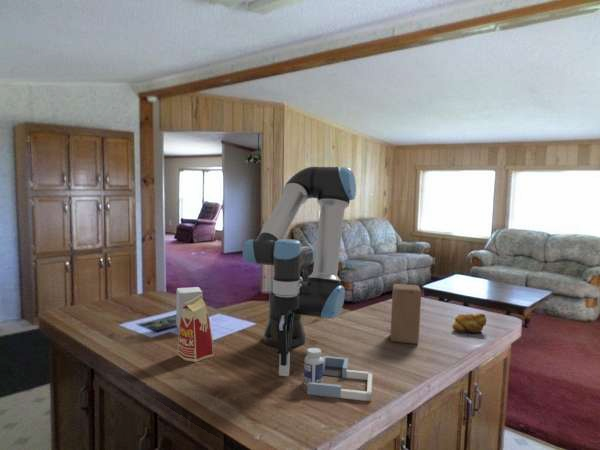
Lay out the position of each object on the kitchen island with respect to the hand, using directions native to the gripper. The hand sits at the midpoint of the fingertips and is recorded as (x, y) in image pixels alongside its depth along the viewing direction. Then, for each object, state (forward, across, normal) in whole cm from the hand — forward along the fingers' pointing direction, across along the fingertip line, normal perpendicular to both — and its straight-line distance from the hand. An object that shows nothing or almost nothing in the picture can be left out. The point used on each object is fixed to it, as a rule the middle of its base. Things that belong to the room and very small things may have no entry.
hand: (284, 374), depth 130 cm
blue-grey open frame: (+2, +3, -13) cm, 13 cm away
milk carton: (+2, +11, +32) cm, 34 cm away
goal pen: (+2, 0, -21) cm, 21 cm away
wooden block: (+2, +46, -36) cm, 58 cm away
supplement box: (+2, +38, +46) cm, 60 cm away
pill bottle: (+2, 0, -8) cm, 9 cm away
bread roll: (+2, +63, -62) cm, 88 cm away
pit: (+2, +9, -13) cm, 16 cm away
